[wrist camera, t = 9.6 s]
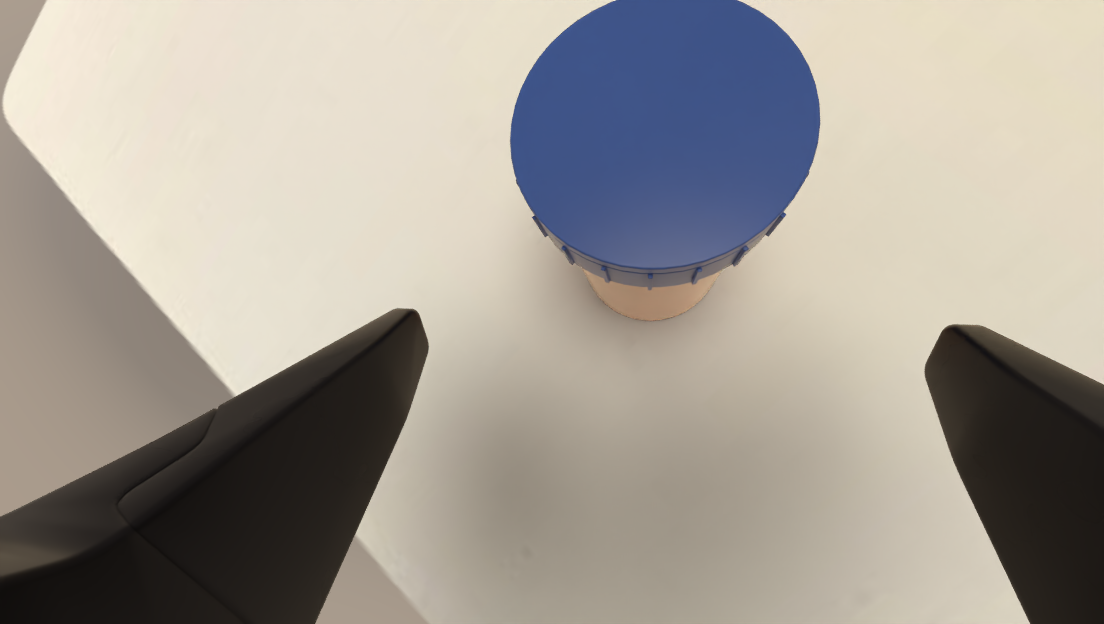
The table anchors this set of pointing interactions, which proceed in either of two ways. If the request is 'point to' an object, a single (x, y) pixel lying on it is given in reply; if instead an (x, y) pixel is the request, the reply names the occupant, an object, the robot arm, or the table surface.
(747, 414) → the table surface
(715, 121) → the lid
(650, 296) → the jar
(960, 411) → the robot arm
